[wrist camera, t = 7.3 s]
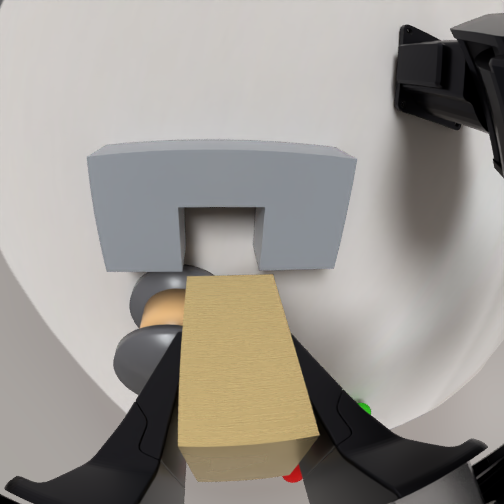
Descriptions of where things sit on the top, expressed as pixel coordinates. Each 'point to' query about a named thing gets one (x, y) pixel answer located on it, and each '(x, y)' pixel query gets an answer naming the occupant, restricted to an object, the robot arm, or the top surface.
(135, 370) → the bobbin
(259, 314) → the tan wooden block
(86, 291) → the top surface
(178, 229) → the notch board
